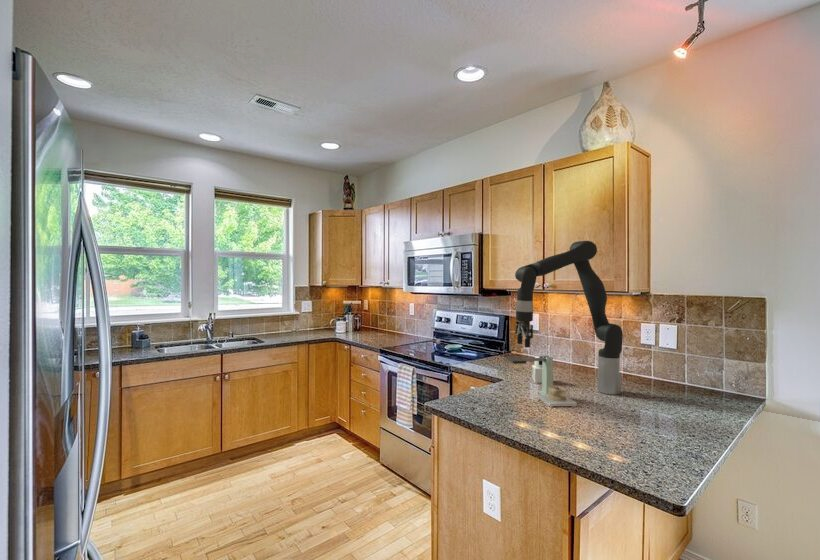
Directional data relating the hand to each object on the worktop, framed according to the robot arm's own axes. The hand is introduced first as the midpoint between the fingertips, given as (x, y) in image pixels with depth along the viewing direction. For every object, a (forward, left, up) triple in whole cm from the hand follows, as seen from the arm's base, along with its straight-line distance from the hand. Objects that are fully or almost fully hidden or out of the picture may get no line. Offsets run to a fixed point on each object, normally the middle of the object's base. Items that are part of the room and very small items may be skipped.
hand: (523, 345), depth 178 cm
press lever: (-4, -2, -8) cm, 9 cm away
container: (-20, -24, -24) cm, 39 cm away
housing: (-13, +8, -22) cm, 27 cm away
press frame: (-13, +5, -24) cm, 27 cm away
